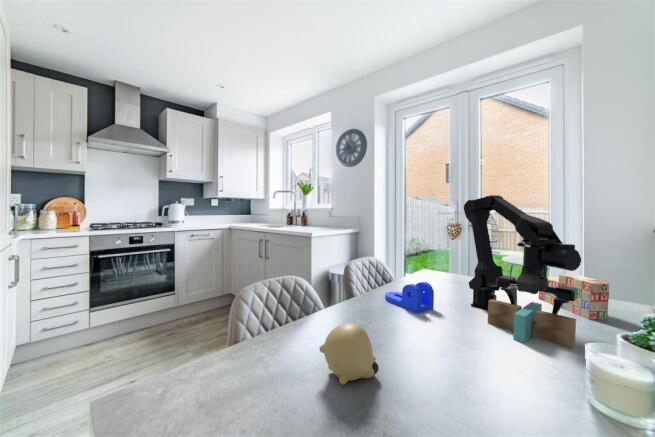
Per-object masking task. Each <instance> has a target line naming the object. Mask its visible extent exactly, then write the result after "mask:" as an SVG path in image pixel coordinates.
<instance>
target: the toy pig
mask: <svg viewBox="0 0 655 437" xmlns="http://www.w3.org/2000/svg"><path fill="white" fill-rule="evenodd" d="M319 352H320V353H322V354H324V359H325V361H326V363H327V366H328V367H327V368H328V370H329V371H332V372H333V374H334V375H336V377H337V378H339V379H338V380H339V384H341V385H342V386H343V385H346V384H347V383H348V382H349V381H351V382H352V381H355V380H358V379H370V378H373V377H374V375H376V374H377V373H378V372H379V370H380V369H379V368H380V367H379V364H378V363H377V362H376V360H377V357H375V355H374V354H373V348H372V343H371V340H370V337H369V335H368V333H367V332H366V330H365V329H364V328H363V327H361V326H360V325H357V324H354V323H342V324H340V325H337V326H335V327H334V328H333V329H331V331H330V332H329V333H328V334H327V336H326V338H325V341H324V343H323V344H321V345H320V346H319Z"/></svg>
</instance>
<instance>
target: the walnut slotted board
mask: <svg viewBox="0 0 655 437" xmlns="http://www.w3.org/2000/svg"><path fill="white" fill-rule="evenodd" d="M522 308H523V307H522V305H518V304H517V305H514V304H511V302H504V301H502V300H498V299H496V300H493V299H491V300H489V301H488V310H487V324H489V325H492V326H496V327H498V328H499V327H500V328H503V329H506V330H509V331H513V332H514V313H516V312H517V311H519V310H520V309H522ZM576 328H577V318H574V317H569V316H565V315H560V314H553V313H552V312H548V311H543V310H542V311H540V310H538V311H536V318H535V322H533V323H532V324H531V337H533V338H535V339H540V340H543V341H547V342H550V343H554V344H556V345H560V346H563V347H567V348H569V349H570V348H571V349H574V348H575V347H576V333H577V332H576V330H577V329H576Z"/></svg>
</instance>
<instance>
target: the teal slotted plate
mask: <svg viewBox="0 0 655 437" xmlns="http://www.w3.org/2000/svg"><path fill="white" fill-rule="evenodd" d="M542 306H543V304H542V303H538V302H533V301H531V302H529V303H528V304H526V305H525V306H523V307H521V309H520V310H519V311H517V312H516V313H514V331H513V334H512V336H513V340H514V341H518V342H520V343H526V342H527V341H529V339H530V338H531V337H532V336H531V324H532V323H533V322H535V318H536V311H538V310H540V311H543V307H542Z"/></svg>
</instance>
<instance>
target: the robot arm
mask: <svg viewBox="0 0 655 437" xmlns="http://www.w3.org/2000/svg"><path fill="white" fill-rule="evenodd" d="M492 211H495V212H496V213H497V214H498V215H499V216H501V217H502V218H504V219H505V220H507V221H508V222H509V223H510V224H512V225H513V226H514V229H515V231H516V233H518V235H519V236H520V237H521V238H522V240H520V241H519V242H518V243H517V244H516V246H517V247H521V248H523V255H522V256H523V257H522V258H523V260H522V268H521V272H520V274H519V275H518V277H517V278H516V277H514V276H509V275H504V274H503V268H502V266H501V265H497V264H496V262H495V261H494V256H493V251H492V250H493V249H492V245H491V239H490V233H489V232H490V231H489V226H488V220H489V218H490V216H491V212H492ZM463 212H464V215H465V218H466V220H468V222H469V223H470V224H471V229H472V234H473V240H474V246H475V252H476V258H477V264H476V266H475V268H474V277H473V278H472V279H471V280H470V281H469V282H468V286H469V289H470V290H472V296H473V297H472V303H470V306H471V307H475V308H478V309H482V310H486V311H488V301H489V300H491V299H493V300H497V295H496V291H497V292H498V291H500V290H501V291H504V292H505V293H506V295H507V297H508V299H509V301H510V302H509V303H510V304H514V305H518V292H522V293H523V292H525V293H529V294H531V295H538V294H539V291H541V292H546V293H551V294H555V296H556V298H555V299H554V305H552V310H551V313H553V314H557V315H559V314H558V313H559V312H560V310H561V309H562V308H561V307H562V305H563V304H564V303H569V302H570V301H575V300H576V299H577V298H578V290H577V289H576V288H575V287H569V286H563V285H559V286H558V287H556V288H555V287H550V286H549V281H548V278H547V276H548V270H549V269H548V267H550V268H556V269H559V270H560V269H561V270H566V271H569V272H574V271H576V270H577V269H578V268H579V267H580V266H581V263H582V257H581V254H580V253H579V251H578V250H576V245H575V244H572V243H566V244H565V243H563V242H562V240H561V239H560V237H559V236H558V235H557V233H556V231H555V230H554V225H553V224H552V223H551V222H550V221H547V220H545V219H542V218H540V217H535V216H532V215H529V214H527V213H525V212H524V211H522V210H521V209H519V208H518V207H517V206H515V205H513V204H512V203H510V202H509V201H508V200H506V199H505V198H504V197H503V196H502V195H495V194H494V195H493V194H492V195H490V194H489V195H487V196H486V195H485V196H484V197H480V198H475V199H469V200H467V201H466V202H465V203H464V204H463Z"/></svg>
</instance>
